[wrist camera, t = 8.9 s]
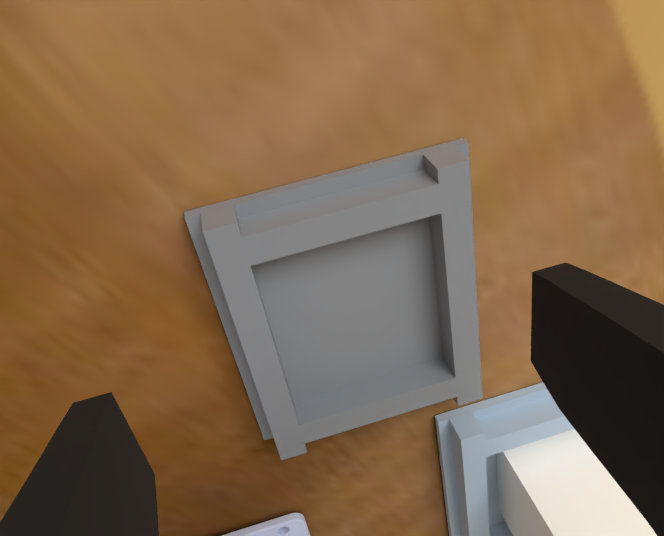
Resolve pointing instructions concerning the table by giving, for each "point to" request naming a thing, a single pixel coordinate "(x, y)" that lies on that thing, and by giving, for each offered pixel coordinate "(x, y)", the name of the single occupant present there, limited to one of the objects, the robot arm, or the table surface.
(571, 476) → the white rectangular block
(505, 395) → the rear socket
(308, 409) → the front socket
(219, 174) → the table surface
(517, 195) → the table surface
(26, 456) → the table surface
